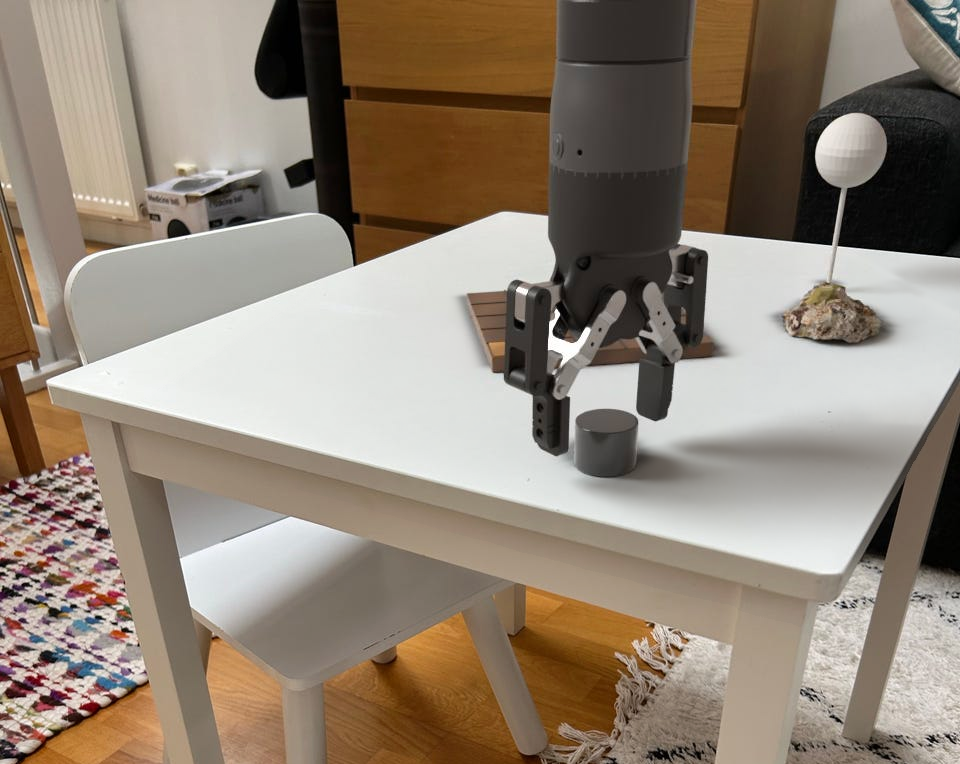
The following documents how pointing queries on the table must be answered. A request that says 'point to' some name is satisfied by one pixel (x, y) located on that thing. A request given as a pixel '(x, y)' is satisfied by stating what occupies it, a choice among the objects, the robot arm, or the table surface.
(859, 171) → the lollipop
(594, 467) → the dark grey cylinder
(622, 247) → the robot arm
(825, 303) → the mineral rock
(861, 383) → the table surface
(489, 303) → the board
